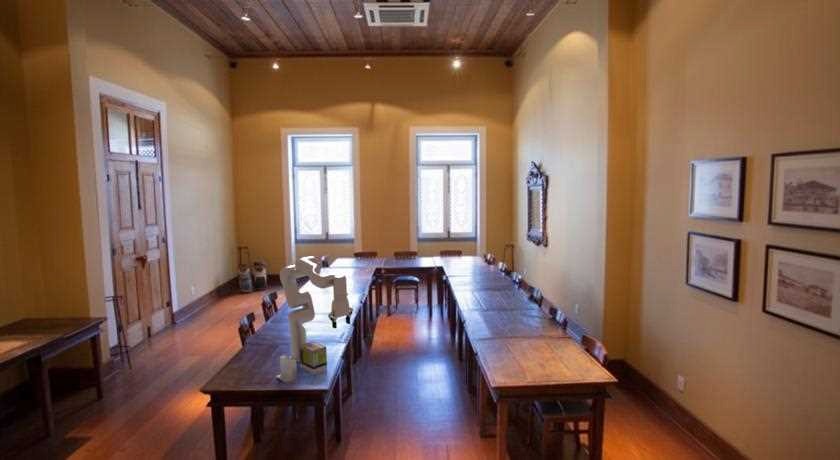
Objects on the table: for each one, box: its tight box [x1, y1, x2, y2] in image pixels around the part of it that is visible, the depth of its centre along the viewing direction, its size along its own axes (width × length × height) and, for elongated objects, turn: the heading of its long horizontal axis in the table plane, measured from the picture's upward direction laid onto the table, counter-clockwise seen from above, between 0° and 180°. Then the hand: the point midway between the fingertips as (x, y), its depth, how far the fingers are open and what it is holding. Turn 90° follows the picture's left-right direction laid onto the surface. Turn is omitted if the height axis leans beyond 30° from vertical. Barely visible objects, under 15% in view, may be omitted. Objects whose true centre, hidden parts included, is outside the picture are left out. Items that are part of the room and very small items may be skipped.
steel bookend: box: [275, 354, 298, 385], centre depth 261 cm, size 12×6×12 cm, turn 48°
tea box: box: [299, 340, 328, 375], centre depth 275 cm, size 15×10×15 cm, turn 44°
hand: (341, 325), depth 265 cm, fingers open, 9 cm apart
